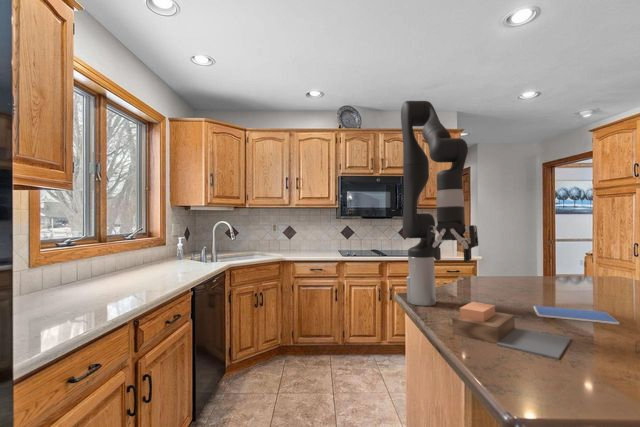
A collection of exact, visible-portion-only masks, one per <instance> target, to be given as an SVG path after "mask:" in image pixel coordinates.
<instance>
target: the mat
mask: <svg viewBox="0 0 640 427" xmlns="http://www.w3.org/2000/svg"><path fill="white" fill-rule="evenodd" d="M571 340H572V337H568V336H563V335H558V334H552V333H547V332H540V331H537V330H529V329H526V328H520V327H515V329H514V330H512V331H511V332H510V333H509V334H508V335H506V336H505V337H504V338H503V339H502V340H501V341H499V342H498V343H497V344H496V345H497V346H499V347H503V348H507V349H511V350H516V351H519V352H520V351H521V352H524V353H529V354H533V355H537V356H542V357H546V358H550V359H555V360H559V359H560V358H561V357H562V355H563V354H564V352H565V350H566V349H567V347H568V345H569V343H570V342H571Z"/></svg>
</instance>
